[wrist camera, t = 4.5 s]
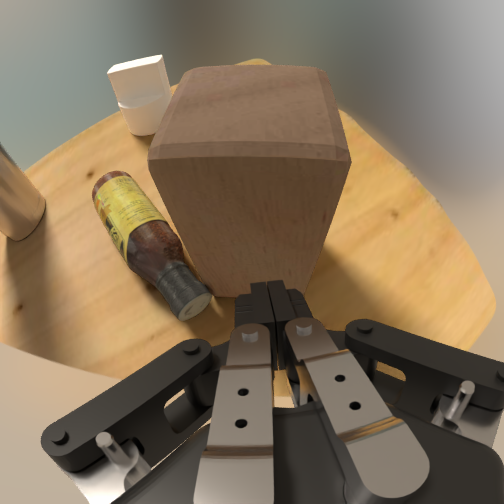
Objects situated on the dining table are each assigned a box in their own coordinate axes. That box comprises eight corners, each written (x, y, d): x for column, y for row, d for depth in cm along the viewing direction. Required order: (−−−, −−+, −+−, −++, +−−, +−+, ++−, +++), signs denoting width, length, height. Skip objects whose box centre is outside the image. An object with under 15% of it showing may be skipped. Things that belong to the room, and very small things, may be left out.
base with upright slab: (181, 102, 46) (168, 47, 36) (170, 132, 42) (152, 70, 32) (137, 109, 47) (119, 58, 36) (122, 138, 43) (98, 83, 32)
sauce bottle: (81, 191, 30) (153, 322, 22) (119, 158, 31) (209, 274, 23) (107, 217, 36) (181, 333, 28) (141, 188, 37) (227, 295, 29)
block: (304, 302, 29) (360, 162, 11) (207, 298, 30) (135, 160, 12) (302, 220, 34) (328, 63, 16) (217, 218, 34) (183, 64, 16)
